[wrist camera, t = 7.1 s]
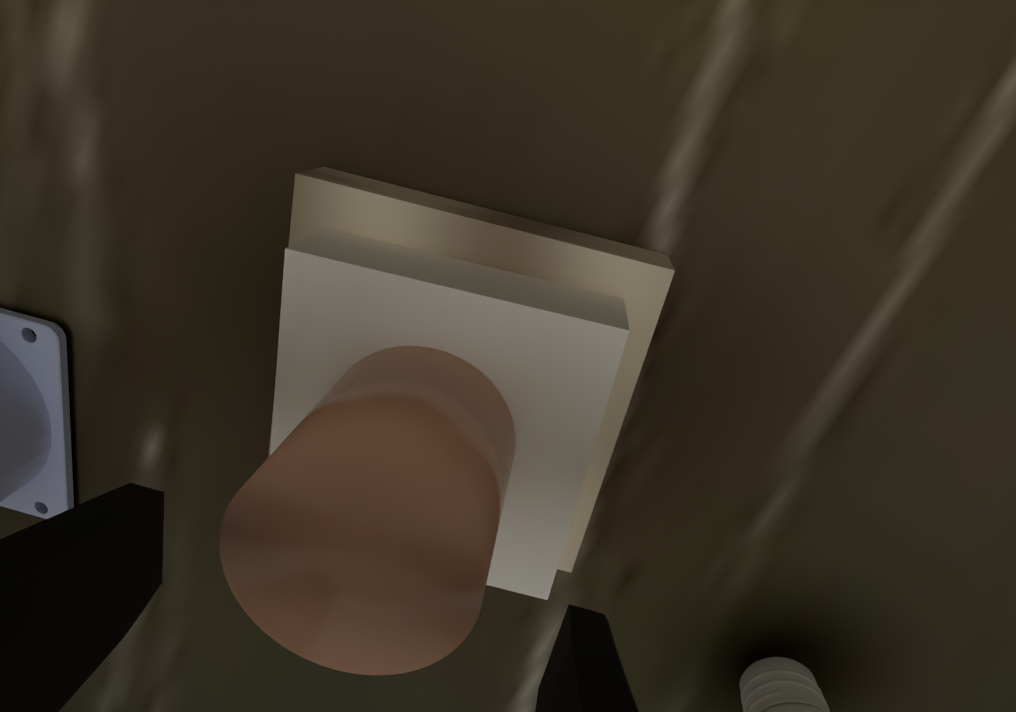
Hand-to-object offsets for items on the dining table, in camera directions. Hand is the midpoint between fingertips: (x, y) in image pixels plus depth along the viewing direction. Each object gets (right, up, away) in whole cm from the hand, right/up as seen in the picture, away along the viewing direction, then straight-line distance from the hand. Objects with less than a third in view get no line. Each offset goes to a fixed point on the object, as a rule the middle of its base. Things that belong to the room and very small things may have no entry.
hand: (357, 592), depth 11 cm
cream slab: (+1, +3, +7) cm, 8 cm away
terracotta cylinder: (0, +2, +5) cm, 5 cm away
